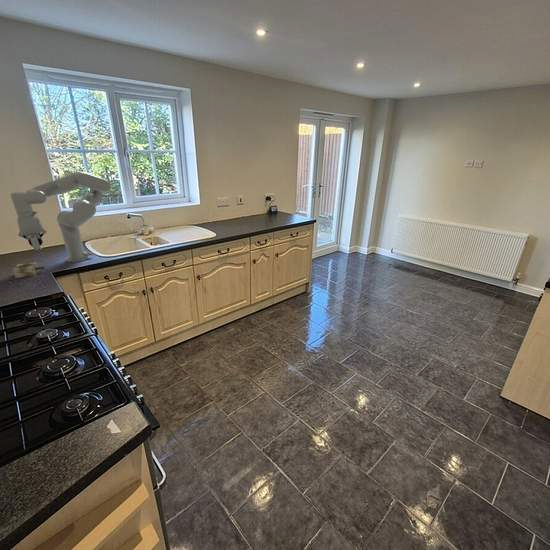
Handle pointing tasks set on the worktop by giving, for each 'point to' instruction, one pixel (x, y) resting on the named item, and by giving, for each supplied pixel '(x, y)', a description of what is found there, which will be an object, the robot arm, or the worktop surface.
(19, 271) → the socket block
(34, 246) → the grey upright block
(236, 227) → the worktop surface
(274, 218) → the worktop surface
